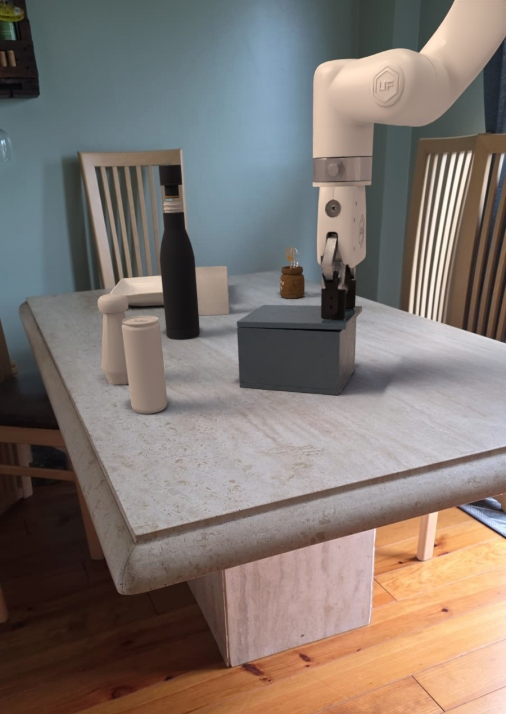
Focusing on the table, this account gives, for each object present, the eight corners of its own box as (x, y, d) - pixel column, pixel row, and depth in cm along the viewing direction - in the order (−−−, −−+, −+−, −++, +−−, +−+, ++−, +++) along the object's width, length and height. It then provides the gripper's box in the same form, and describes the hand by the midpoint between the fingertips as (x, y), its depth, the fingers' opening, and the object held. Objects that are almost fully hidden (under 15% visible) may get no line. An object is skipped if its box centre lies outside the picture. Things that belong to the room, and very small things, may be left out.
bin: (354, 371, 96) (356, 313, 92) (338, 395, 86) (339, 332, 82) (264, 364, 100) (263, 310, 97) (239, 387, 90) (236, 327, 87)
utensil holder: (306, 294, 154) (306, 244, 149) (302, 299, 149) (302, 247, 144) (282, 294, 155) (282, 244, 150) (278, 299, 150) (277, 247, 145)
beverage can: (167, 413, 82) (158, 323, 77) (130, 416, 81) (118, 325, 76) (168, 401, 86) (160, 314, 81) (133, 403, 86) (123, 316, 81)
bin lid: (362, 311, 92) (362, 278, 90) (345, 329, 82) (346, 292, 80) (263, 310, 97) (261, 278, 95) (236, 327, 87) (234, 292, 85)
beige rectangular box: (228, 314, 136) (226, 267, 132) (198, 315, 136) (194, 268, 132) (229, 310, 140) (227, 264, 135) (199, 312, 140) (196, 266, 135)
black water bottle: (172, 341, 116) (156, 165, 104) (162, 334, 122) (146, 165, 109) (204, 336, 119) (193, 164, 106) (193, 329, 124) (181, 164, 112)
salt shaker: (142, 373, 98) (132, 290, 93) (142, 384, 93) (132, 297, 88) (104, 376, 97) (92, 292, 92) (102, 388, 92) (90, 299, 87)
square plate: (226, 305, 145) (226, 288, 143) (108, 311, 143) (106, 294, 142) (223, 286, 169) (223, 271, 168) (123, 290, 168) (121, 276, 166)
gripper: (358, 174, 71) (353, 329, 78) (382, 171, 86) (375, 302, 93) (295, 176, 73) (295, 326, 81) (328, 173, 88) (326, 300, 96)
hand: (338, 312), depth 87 cm, fingers open, 6 cm apart
